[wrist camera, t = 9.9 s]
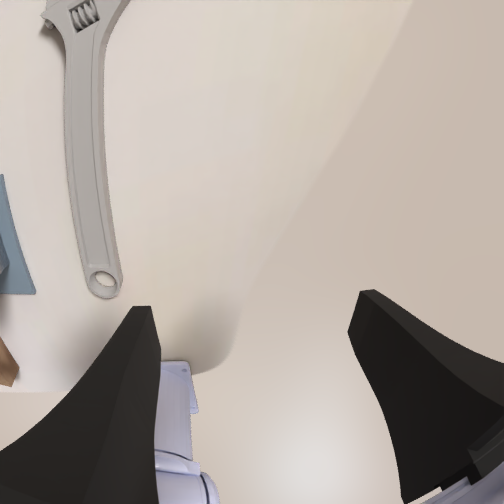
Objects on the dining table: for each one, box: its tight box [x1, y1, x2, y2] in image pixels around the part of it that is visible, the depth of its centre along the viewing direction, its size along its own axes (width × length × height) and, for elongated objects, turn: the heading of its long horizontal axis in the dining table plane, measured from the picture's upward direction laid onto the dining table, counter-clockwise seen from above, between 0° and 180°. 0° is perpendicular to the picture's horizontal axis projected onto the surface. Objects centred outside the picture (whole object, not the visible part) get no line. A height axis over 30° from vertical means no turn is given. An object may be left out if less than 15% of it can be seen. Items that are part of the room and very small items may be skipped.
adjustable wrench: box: [41, 0, 130, 298], centre depth 14 cm, size 25×6×2 cm, turn 171°
